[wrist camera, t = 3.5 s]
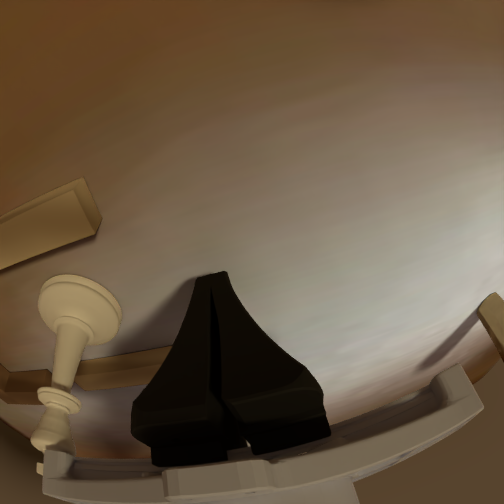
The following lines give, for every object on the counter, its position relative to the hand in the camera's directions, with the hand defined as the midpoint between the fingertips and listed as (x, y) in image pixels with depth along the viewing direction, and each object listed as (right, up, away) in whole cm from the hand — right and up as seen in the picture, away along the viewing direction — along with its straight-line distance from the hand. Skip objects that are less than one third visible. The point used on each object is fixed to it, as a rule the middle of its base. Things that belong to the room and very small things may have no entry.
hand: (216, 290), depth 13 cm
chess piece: (-8, -1, +1) cm, 8 cm away
